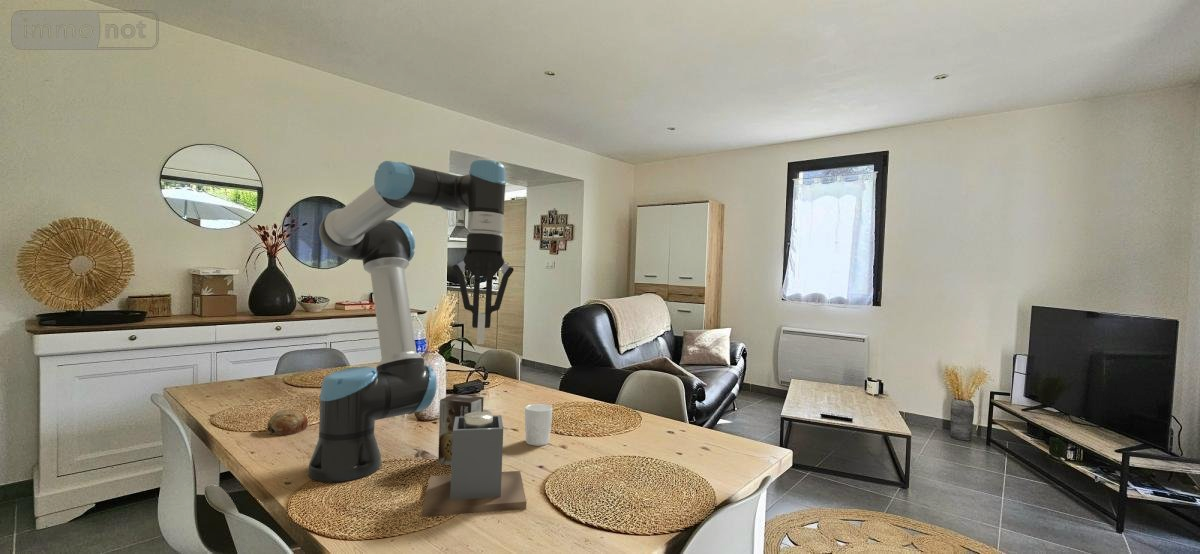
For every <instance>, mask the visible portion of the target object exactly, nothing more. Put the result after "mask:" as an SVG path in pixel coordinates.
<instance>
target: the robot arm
mask: <svg viewBox="0 0 1200 554" xmlns="http://www.w3.org/2000/svg"><path fill="white" fill-rule="evenodd" d="M505 167H506V166H505V165H503V164H502V163H501V162H499V161H495V160H487V159H477V160H473V161H472V162H471V164H470V166H469V171H468V173H469V174H464V175H456V174H452V173H448V172H443V171H438V170H434V169H429V168H424V167H419V166H416V165H413V164H412V165H411V164H408V163H406V162H401V161H392V160H384V161H382V162H380V164H379V165H378V166H377V169H376V170H375V172H374V173H375V174H374V177H373V178H374V180H373V182H374V183H373V185H371V186H370V187H369V188H367V189H365V191H364V192H362V193H361V194H360V195H358V196H357V197H356V198H355V199H353V200H352V201H350V202H349V203H348V204H346V205H345V206H344V207H343V208H336V209H334V210H332V211H330V212H329V213H328V214H326V216H324V217H323V218H322V220H321V222H320V225H319V229H318V232H319V233H318V234H319V238H320V241H321V242H322V244H323V246H324V247H325V249H327V250H328V251H329V252H331V253H332V254H333V255H335V256H338V257H340V258H342V259H346V260H354V261H355V260H356V261H357V260H359V261H362V265H363V270H364V271H365V272H367V273H368V274H370V280H371V287H372V294H373V295H372V296H373V302H374V310H375V318H376V324H377V333H378V339H379V340H378V341H379V347H380V349H379V350H380V356H381V359H380V361H379V362H378V363H377V365H376V366H375V367H373V366H367V365H366V366H355V367H348V368H344V369H340V370H336V371H333V372H331V373H329V374H328V375H326V376H324V378H323V380H322V382H321V387H320V389H321V390H320V394H319V400H320V401H319V420H318V421H319V424H318V426H319V427H318V440H317V443H316V445H315V448H314V451H313V453H312V456H311V458H310V461H309V463H308V471H307V473H308V477H309V478H311V479H312V480H314V481H316V482H317V481H318V482H325V483H326V482H327V483H334V482H337V483H338V482H344V481H345V482H348V481H353V480H357V479H361V478H363V477H366V476H369V475H371V474H373V473H374V472H377V471H378V469H380V467H381V464H382V454H381V452H380V447H379V445H378V442H377V438H376V435H375V423H376V421H377V420H382V419H389V418H393V417H399V416H404V415H412V414H416V413H418V412H423V411H425V410H427V408H429V407H430V406H431V404H432V403H433V401H434V398H435V396H436V393H437V383H438V382H437V375H436V372H435V371H434V369H433V367H431V366H430V365H427V364H426V365H425V361H424V360H425V359H424V357H423V356H422V355H420V354H419V353H417V346H416V340H415V334H414V333H415V332H414V327H413V319H412V313H411V312H412V311H411V307H410V299H409V293H408V287H407V280H406V274H405V270H406V269H407V267H408V266H409V265H410V262H411V260H413V258H414V255H415V249H416V240H415V236H414V233H413V232H412V230H411V228H410V227H409V226H408V225H406V224H405V223H404V222H400V221H394V220H392V219H390V218H391V217H393V216H394V215H396V214H397V213H399V212H400V211H402V210H403V209H405V208H406V207H408V206H410V205H411V204H412V203H413V204H415V203H416V204H422V205H423V204H424V205H428V206H435V207H440V208H441V209H443V210H445V211H455V212H459V211H464V210H467V211H468V212H467V231H468V232H469V233H468V234H467V235H466V249H465V250H466V252H465V256H464V257H463V260H462V261H461V262H459V263H457V264H453V266H452V269H453V271H454V272H455V275H456V276H457V279H458V284H459V285H458V286H459V289H460V294H461V298H462V303H463V304H462V305H463V308H464V309H465V310H467V311H469V312H471V313H472V314H471V315H472V319H471V320H472V321H471V327H472V328H473V329H475V328H476V329H477V334H476V335H477V336H476V344H477V345H485V333H486V331H485V330H486V329H490V327H491V321H492V320H491V319H492V317H491V315H492V313H493V312H496V311H499V310H500V308H501V305H502V302H503V298H504V294H505V291H506V288H507V285H508V281H509V278H510V276H511V275H512V274H513V273H514V270H515V269H514V267H513V266H509V265H508V264H507V263H505V259H504V256H503V245H504V238H503V236H502V235H501V234H503V233H504V221H505V220H504V218H505V216H504V213H505V212H504V211H505V197H506V184H507V182H506V168H505ZM466 267H467V268H468V270H469V271H470V273H471V275H472V276H473V296H472V298H473V299H472V304H471V303H470V298H469V293H468V288H467V283H466V278H465V275H464V272H465V271H466ZM501 268H502V270H501V273H502V274H503V275H502V277H501V280H500V285H499V287H498V291H497V294H496V298H495V301H494V304H493V305H492V301H493V300H492V296H493V295H492V294H493V277H494V276H495V275H496V274H497V273H498V271H500V269H501ZM481 277H485V278H486V282H485V283H486V284H485V307H484V308H485V309H484V312H480V311H479V307H480V291H481V290H480V289H481V288H480V285H481Z"/></svg>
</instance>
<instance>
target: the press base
mask: <svg viewBox="0 0 1200 554" xmlns="http://www.w3.org/2000/svg"><path fill="white" fill-rule="evenodd" d="M427 484H428V485H427V488H426V492H425V496H424V500H423V505H422V508H421V518H430V517H431V518H433V517H442V516H456V515H458V516H459V515H467V514H468V515H470V514H478V513H479V514H480V513H493V512H495V513H496V512H507V511H517V510H527V497H526V492H525V488H524V483H523V479H522V474H521V470H512V471H511V470H510V471H502V477H501V497H492V498H478V499H465V500H451V501H450V488H451V474H447V475H430V477H429V480H428V483H427Z"/></svg>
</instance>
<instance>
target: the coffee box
mask: <svg viewBox="0 0 1200 554" xmlns="http://www.w3.org/2000/svg"><path fill="white" fill-rule="evenodd" d="M484 398H485V397H484V396H477V395H476V396H475V395H467V394H457V393H456V394H455V393H453V394H451V395H450V394H449V395H448V396H446V397H443V398H442V399H440V400H439V420H438V421H439V425H438V426H439V428H438V435H439V436H438V454H437V455H438V459H437V464H440V465H445V466H451V463H452V438H453V427H454V421H455V417H463V416H464V415H465V414H467V413H471V412H484Z"/></svg>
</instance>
